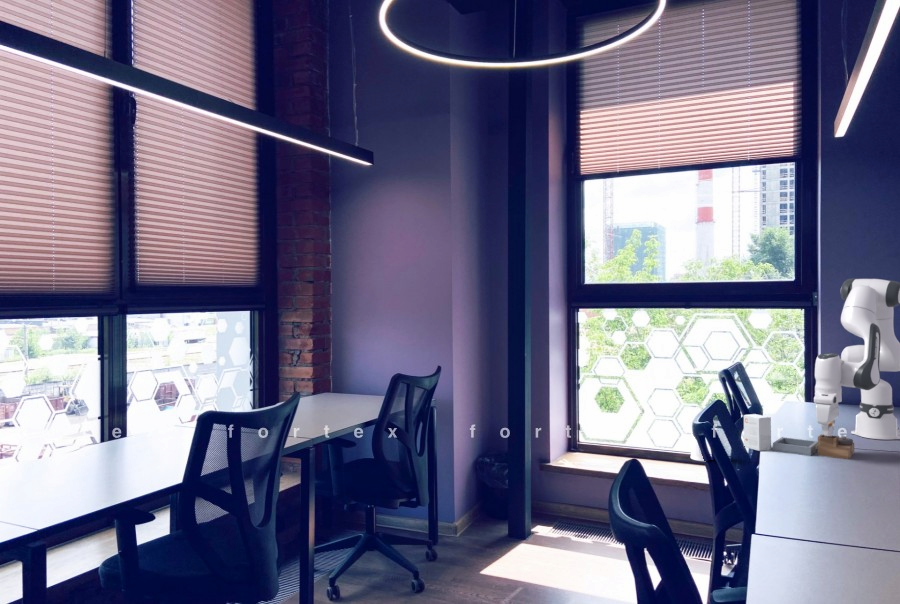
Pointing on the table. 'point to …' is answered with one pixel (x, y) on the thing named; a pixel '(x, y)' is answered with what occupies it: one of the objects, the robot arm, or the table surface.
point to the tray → (795, 446)
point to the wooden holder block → (835, 447)
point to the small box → (757, 432)
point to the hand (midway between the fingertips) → (828, 432)
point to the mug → (695, 449)
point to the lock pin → (830, 431)
